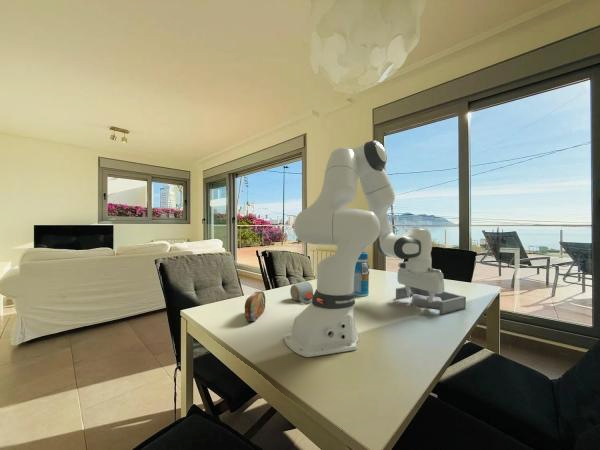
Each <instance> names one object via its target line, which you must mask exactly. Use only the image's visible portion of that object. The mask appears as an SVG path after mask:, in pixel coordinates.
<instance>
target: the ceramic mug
mask: <svg viewBox="0 0 600 450" xmlns="http://www.w3.org/2000/svg"><path fill="white" fill-rule="evenodd" d="M306 292H311V293H313V294H314V289H313V286H312V284H311V282H309V281H302V282H299V283H295V284H294V283H293V285H291V286H290V292H289V293H290V296H291V298H292V300H293V301H295V302H301V303H302V304H306V305H310V304H311V303H312V299H308V298H306V297H305V295H306Z"/></svg>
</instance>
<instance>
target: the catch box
mask: <svg viewBox="0 0 600 450" xmlns="http://www.w3.org/2000/svg"><path fill="white" fill-rule="evenodd" d="M410 290H411V292H413V294H418V295H422V296H430V294H429V291H425V290H421V289H418V288H414V287H410ZM413 294H412V296H411V297H413ZM434 297H440V298H441V300H442V301H440V309H439V314H441V315H443V314H444V315H445V314H447V313H451V312H455V311H459V310H462V309H466V308H467V307H466V306H467V305H466V304H467V303H466V302H467V297H466V296H463V295H460V294H455V293H452V292H448V291H445V290H444V292H443V293H440V294H436V293H435V295H434ZM405 298H410V296H407V291H406V289H405V286H404V287H398V288H397V287H396V288H395V300H396V299H397V300H400V299H405Z"/></svg>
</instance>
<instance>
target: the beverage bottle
mask: <svg viewBox="0 0 600 450" xmlns="http://www.w3.org/2000/svg"><path fill="white" fill-rule="evenodd" d="M368 255H369V254H368V252H365V251H363V252H362V253H361V255H360V256H359V258H358V260H357V262H356V266H355V271H354V284H353V290H354V292H355V297H367V296H368V295H369V294H370V292H369V288H370V287H369V286H370V285H369V282H370V270H369V268H370V266H369V263H368Z"/></svg>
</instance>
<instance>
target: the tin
mask: <svg viewBox="0 0 600 450" xmlns="http://www.w3.org/2000/svg"><path fill="white" fill-rule="evenodd" d="M265 309H266V295H265V292H264V291H255V292H254V293H252V294H250V295H249V297H248V298H246V300H245V303H244V319H245V320H246V321H248V322H256V321H257V320H258V319H259V318H260V317H261V315H263V314H264V312H265Z"/></svg>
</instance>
